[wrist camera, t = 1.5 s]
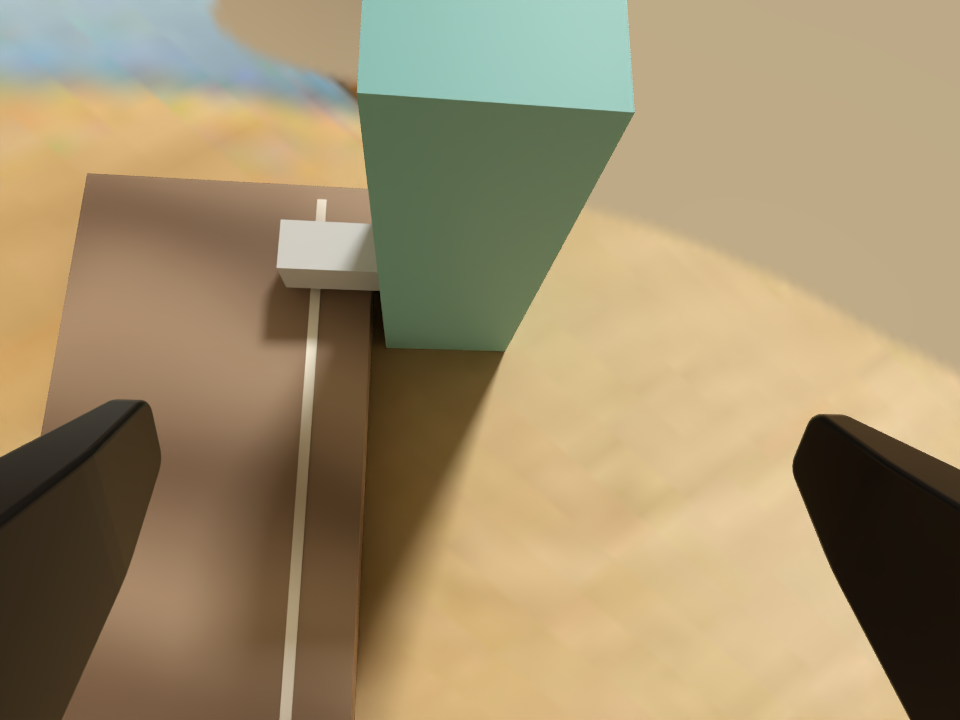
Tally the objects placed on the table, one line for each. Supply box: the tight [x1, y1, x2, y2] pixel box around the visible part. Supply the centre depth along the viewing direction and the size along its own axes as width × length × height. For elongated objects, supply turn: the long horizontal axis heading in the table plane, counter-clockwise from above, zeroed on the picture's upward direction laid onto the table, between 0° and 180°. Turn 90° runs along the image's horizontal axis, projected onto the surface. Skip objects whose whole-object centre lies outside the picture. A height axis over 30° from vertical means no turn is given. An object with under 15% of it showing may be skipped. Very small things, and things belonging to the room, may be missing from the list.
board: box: [41, 173, 374, 720], centre depth 19 cm, size 20×9×2 cm, turn 0°
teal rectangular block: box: [277, 0, 635, 351], centre depth 16 cm, size 4×7×13 cm, turn 90°
